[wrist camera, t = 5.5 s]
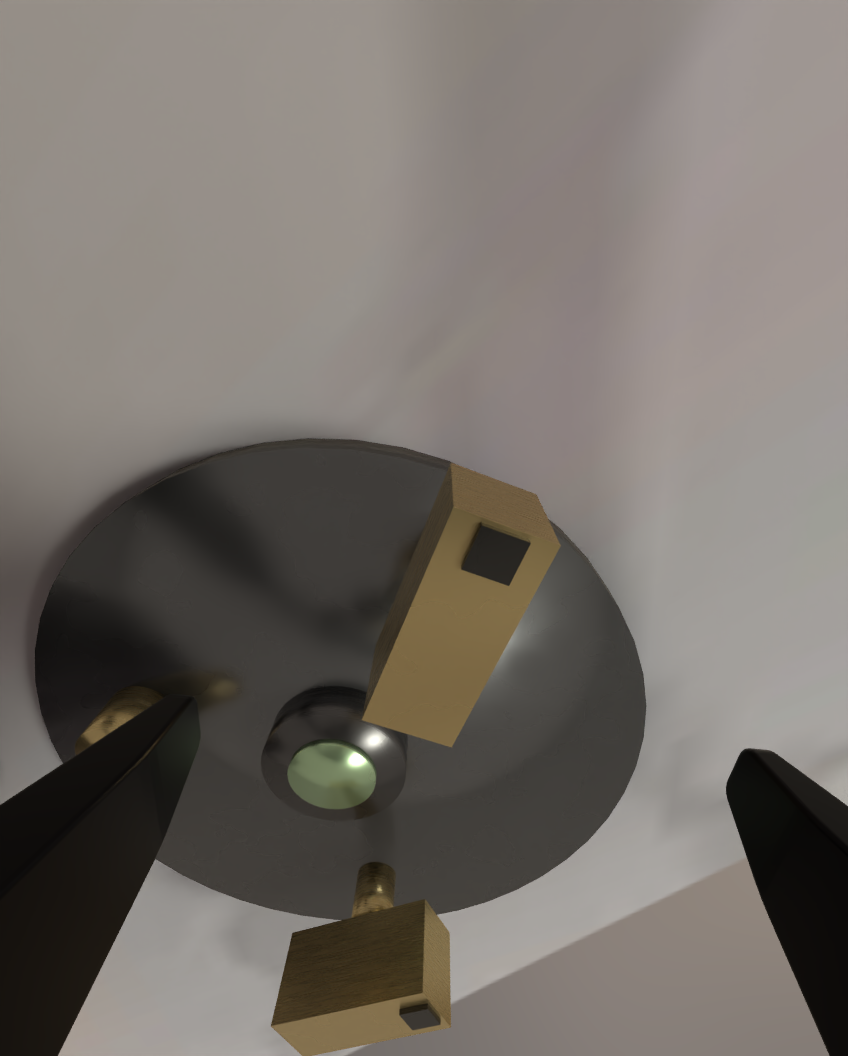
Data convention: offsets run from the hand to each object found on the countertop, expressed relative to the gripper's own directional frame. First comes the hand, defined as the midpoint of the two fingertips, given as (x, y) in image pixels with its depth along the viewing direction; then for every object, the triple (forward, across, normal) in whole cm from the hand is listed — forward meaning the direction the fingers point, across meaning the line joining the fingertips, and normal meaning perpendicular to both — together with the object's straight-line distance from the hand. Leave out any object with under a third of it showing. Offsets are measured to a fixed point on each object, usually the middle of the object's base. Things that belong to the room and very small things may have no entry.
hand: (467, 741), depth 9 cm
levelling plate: (+9, +3, +9) cm, 13 cm away
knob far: (+8, +2, +16) cm, 18 cm away
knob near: (+8, 0, 0) cm, 8 cm away
